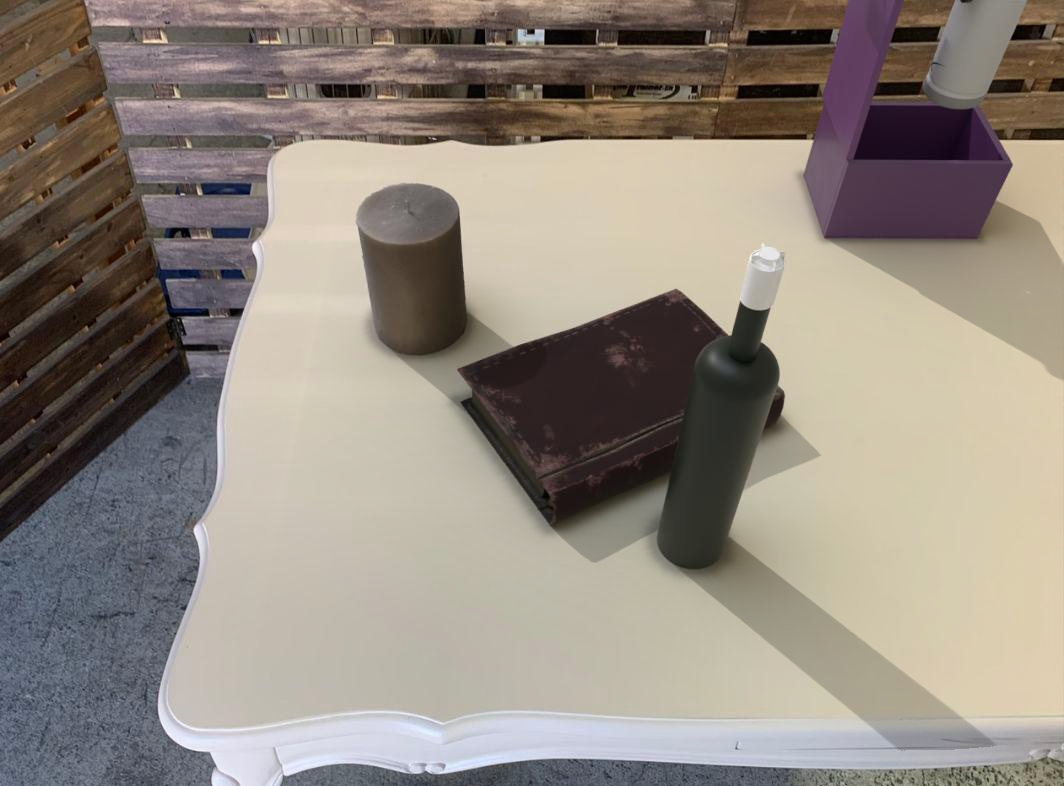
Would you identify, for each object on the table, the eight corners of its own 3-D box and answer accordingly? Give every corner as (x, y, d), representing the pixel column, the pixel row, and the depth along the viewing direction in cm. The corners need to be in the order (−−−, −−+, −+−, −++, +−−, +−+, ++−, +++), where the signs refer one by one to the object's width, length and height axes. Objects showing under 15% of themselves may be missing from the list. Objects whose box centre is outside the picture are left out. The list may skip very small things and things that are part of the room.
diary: (778, 431, 86) (791, 393, 82) (553, 535, 78) (555, 499, 74) (665, 318, 95) (672, 279, 91) (455, 400, 88) (452, 362, 84)
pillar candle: (482, 341, 93) (477, 213, 81) (394, 370, 90) (376, 243, 78) (444, 286, 98) (434, 158, 86) (359, 313, 95) (337, 185, 83)
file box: (944, 180, 111) (977, 102, 103) (975, 243, 103) (1013, 164, 95) (802, 179, 110) (824, 101, 102) (822, 242, 103) (848, 163, 95)
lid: (880, -90, 87) (829, -90, 87) (914, -33, 80) (858, -33, 80) (829, 97, 102) (785, 97, 102) (853, 159, 95) (806, 159, 95)
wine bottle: (732, 565, 77) (834, 276, 52) (668, 578, 76) (741, 290, 51) (709, 513, 80) (794, 218, 55) (647, 525, 79) (707, 231, 55)
